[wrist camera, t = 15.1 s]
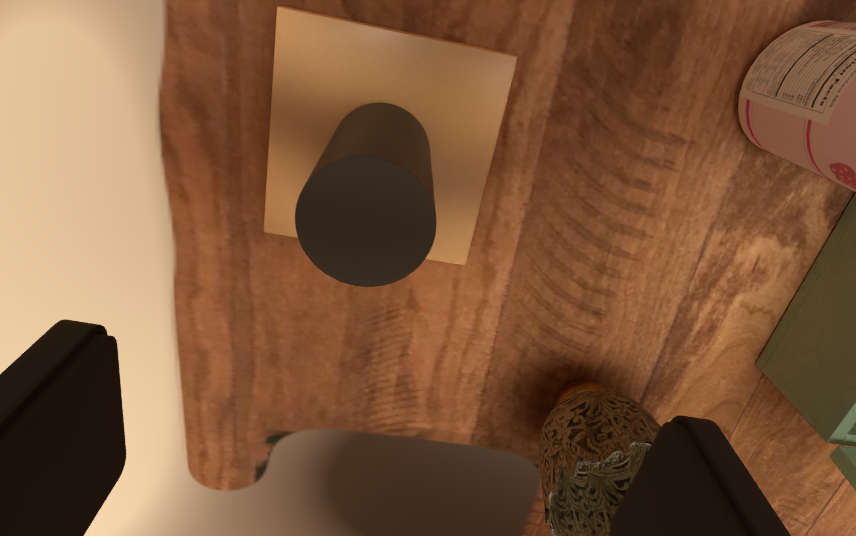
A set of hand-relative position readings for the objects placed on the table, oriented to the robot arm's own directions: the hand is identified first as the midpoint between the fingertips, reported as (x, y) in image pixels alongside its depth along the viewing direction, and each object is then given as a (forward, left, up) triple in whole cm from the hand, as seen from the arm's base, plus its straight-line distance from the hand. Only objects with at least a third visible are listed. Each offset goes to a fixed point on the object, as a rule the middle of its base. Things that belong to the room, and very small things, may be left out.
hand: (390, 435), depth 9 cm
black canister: (0, -1, -17) cm, 17 cm away
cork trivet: (0, -1, -18) cm, 18 cm away
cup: (+13, +13, -18) cm, 26 cm away
